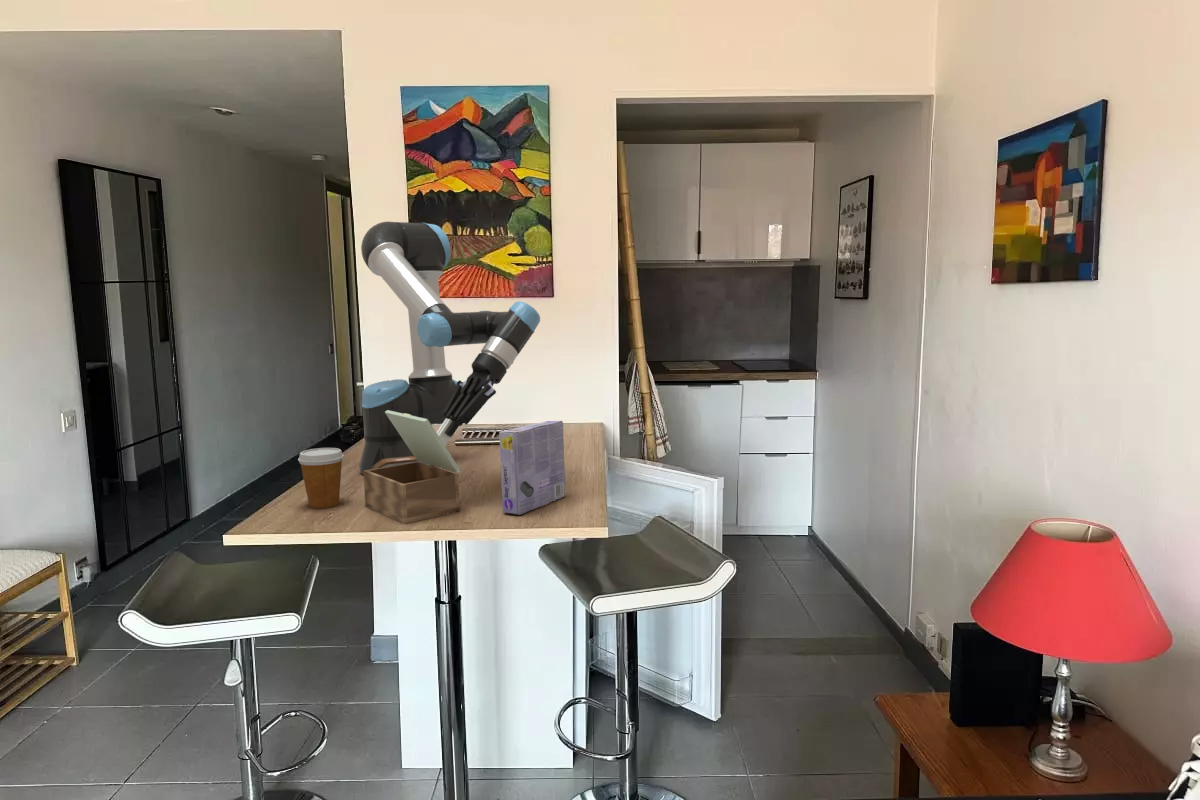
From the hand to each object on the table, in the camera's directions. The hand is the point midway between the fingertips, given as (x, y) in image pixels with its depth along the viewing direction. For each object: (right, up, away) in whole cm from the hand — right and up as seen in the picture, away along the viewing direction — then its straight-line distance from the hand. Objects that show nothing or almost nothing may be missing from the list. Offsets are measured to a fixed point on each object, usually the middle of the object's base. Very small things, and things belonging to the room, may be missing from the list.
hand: (435, 446), depth 171 cm
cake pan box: (+22, -13, +2) cm, 25 cm away
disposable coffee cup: (-26, -13, +4) cm, 29 cm away
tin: (-10, -12, +14) cm, 21 cm away
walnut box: (-5, -13, 0) cm, 14 cm away
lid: (-3, +1, -1) cm, 3 cm away
